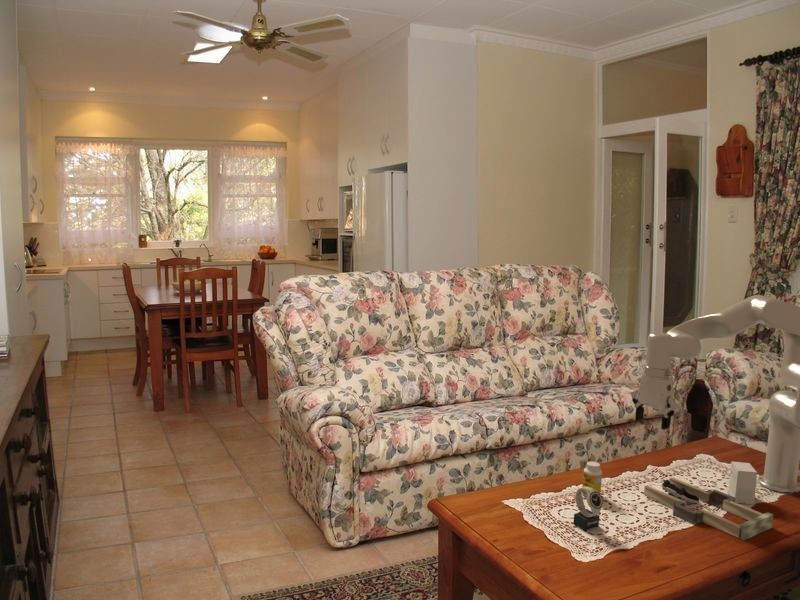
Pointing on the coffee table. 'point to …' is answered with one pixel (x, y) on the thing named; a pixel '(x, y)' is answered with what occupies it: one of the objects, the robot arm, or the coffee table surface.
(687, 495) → the gaming controller
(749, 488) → the small box
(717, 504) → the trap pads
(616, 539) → the coffee table surface
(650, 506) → the coffee table surface
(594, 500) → the watch
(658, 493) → the channel
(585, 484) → the supplement bottle
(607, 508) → the coffee table surface
